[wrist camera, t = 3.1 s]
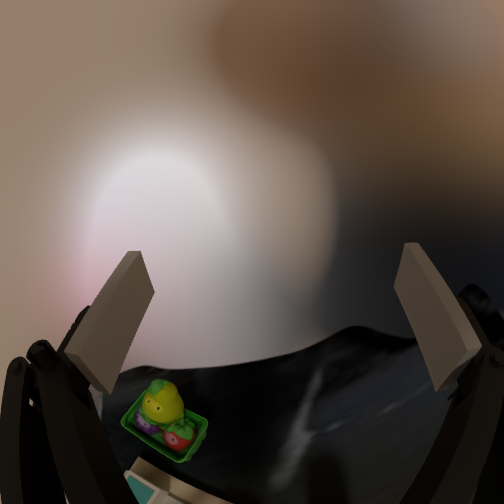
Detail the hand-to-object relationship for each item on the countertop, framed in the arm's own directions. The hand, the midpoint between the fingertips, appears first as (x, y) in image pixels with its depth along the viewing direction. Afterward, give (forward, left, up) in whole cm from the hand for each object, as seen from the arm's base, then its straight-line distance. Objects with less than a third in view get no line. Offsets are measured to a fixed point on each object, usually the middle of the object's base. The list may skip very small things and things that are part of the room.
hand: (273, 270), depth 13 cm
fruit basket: (+15, +3, -32) cm, 35 cm away
